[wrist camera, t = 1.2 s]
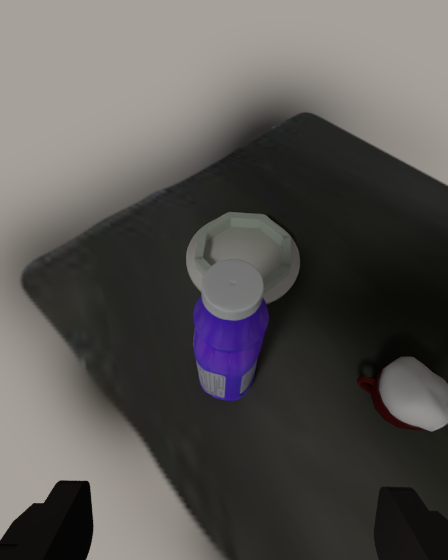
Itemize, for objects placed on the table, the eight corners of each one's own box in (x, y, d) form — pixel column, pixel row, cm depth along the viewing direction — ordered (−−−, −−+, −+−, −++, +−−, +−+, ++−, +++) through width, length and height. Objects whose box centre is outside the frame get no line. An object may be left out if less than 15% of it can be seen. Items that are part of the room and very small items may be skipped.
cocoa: (343, 395, 34) (383, 357, 24) (373, 353, 36) (422, 301, 26) (432, 466, 30) (525, 456, 20) (460, 414, 32) (556, 381, 22)
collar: (247, 202, 49) (248, 190, 47) (322, 264, 43) (327, 253, 41) (164, 252, 44) (161, 241, 42) (237, 331, 37) (237, 323, 35)
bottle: (213, 332, 37) (206, 233, 23) (261, 345, 37) (285, 250, 22) (193, 394, 34) (169, 323, 19) (246, 410, 33) (263, 348, 18)
